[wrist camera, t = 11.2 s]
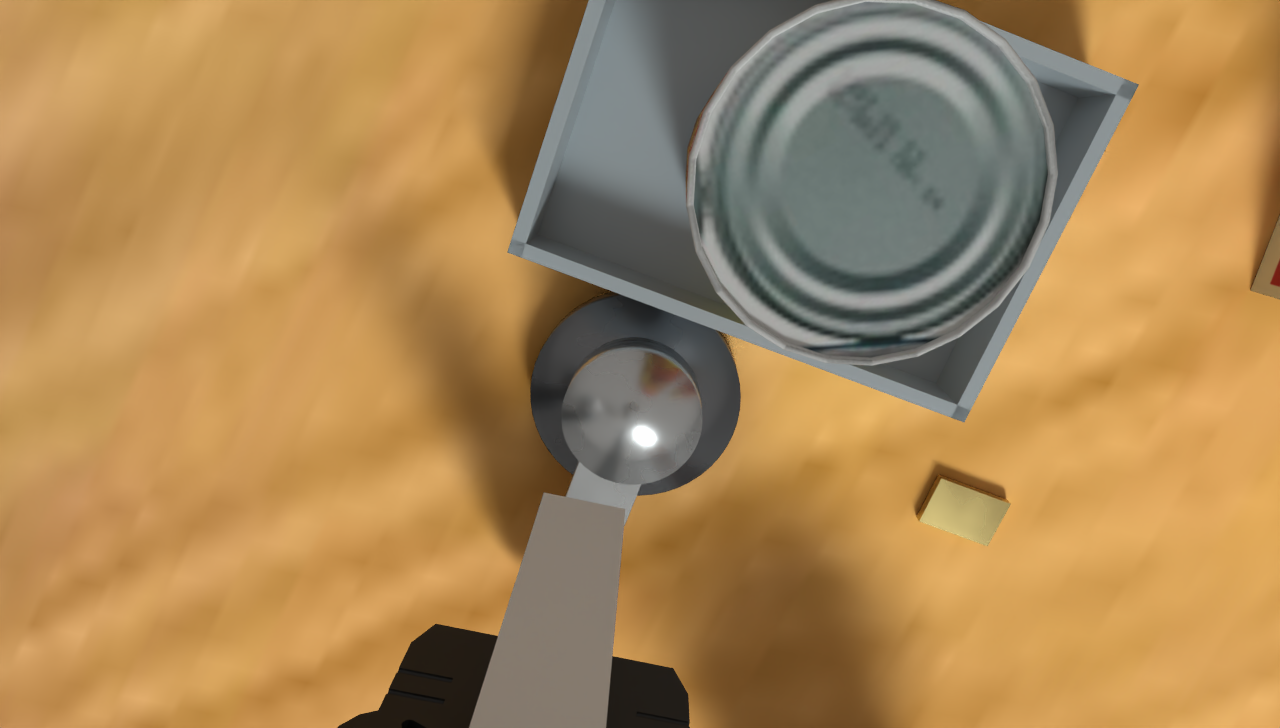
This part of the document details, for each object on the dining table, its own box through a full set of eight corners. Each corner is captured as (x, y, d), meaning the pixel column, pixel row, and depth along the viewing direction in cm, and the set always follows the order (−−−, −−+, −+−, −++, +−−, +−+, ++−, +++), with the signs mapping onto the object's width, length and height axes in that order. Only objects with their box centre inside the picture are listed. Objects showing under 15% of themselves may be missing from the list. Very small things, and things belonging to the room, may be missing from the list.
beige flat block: (916, 516, 33) (919, 521, 33) (938, 474, 33) (941, 478, 32) (983, 541, 33) (987, 546, 33) (1006, 499, 33) (1010, 503, 32)
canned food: (702, 35, 28) (714, -33, 17) (931, 65, 28) (1105, 17, 16) (671, 262, 30) (663, 341, 19) (883, 290, 30) (1006, 388, 19)
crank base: (509, 443, 33) (503, 454, 32) (573, 259, 31) (569, 264, 30) (694, 509, 34) (694, 522, 32) (770, 332, 31) (773, 340, 30)
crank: (593, 317, 30) (551, 412, 20) (721, 364, 30) (742, 481, 20) (483, 623, 34) (400, 833, 24) (597, 662, 34) (563, 886, 24)
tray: (523, 240, 31) (507, 252, 28) (633, -94, 28) (628, -121, 25) (937, 395, 32) (964, 422, 29) (1090, 89, 29) (1138, 84, 26)
